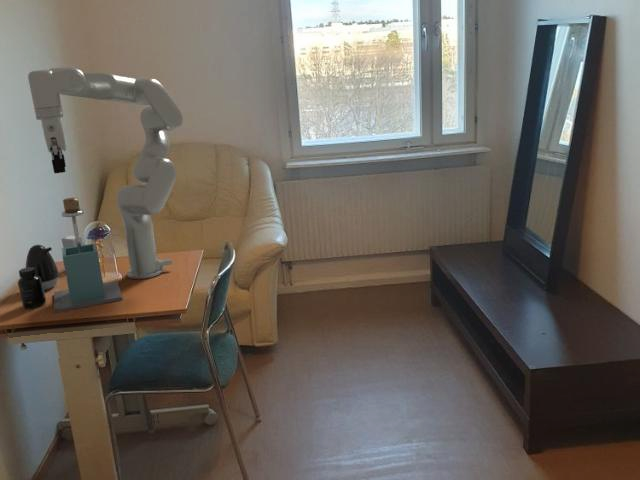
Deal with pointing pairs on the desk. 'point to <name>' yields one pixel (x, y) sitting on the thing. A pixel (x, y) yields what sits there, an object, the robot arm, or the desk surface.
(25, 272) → the supplement bottle
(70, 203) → the plunger
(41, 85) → the robot arm
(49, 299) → the desk surface
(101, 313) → the desk surface
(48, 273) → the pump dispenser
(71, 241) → the skincare box
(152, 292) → the desk surface
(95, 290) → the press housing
